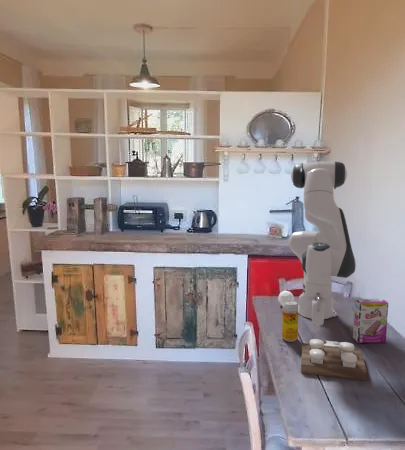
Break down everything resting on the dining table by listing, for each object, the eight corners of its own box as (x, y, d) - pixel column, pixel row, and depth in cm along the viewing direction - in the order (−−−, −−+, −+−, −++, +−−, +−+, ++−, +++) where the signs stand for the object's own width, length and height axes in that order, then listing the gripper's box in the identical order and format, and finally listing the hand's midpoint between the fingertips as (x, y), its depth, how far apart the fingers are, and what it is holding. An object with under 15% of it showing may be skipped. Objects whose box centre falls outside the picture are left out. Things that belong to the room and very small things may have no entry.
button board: (302, 350, 138) (302, 343, 137) (360, 357, 132) (360, 349, 132) (300, 372, 123) (301, 364, 122) (366, 381, 117) (366, 372, 117)
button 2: (338, 352, 133) (339, 341, 132) (353, 353, 131) (353, 342, 131) (339, 358, 128) (340, 347, 127) (354, 360, 127) (355, 349, 126)
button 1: (309, 348, 135) (309, 338, 135) (323, 350, 134) (323, 339, 134) (309, 354, 131) (309, 344, 130) (323, 356, 129) (324, 345, 129)
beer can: (286, 343, 144) (287, 306, 142) (279, 336, 150) (279, 301, 148) (300, 341, 146) (301, 304, 144) (292, 334, 152) (293, 299, 150)
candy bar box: (358, 344, 142) (359, 303, 140) (352, 338, 147) (354, 298, 145) (386, 343, 143) (389, 302, 141) (380, 337, 148) (382, 297, 146)
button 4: (340, 362, 125) (340, 351, 124) (355, 364, 124) (356, 353, 123) (341, 370, 120) (341, 358, 120) (357, 372, 119) (357, 360, 119)
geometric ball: (290, 311, 184) (297, 302, 179) (275, 306, 184) (282, 297, 179) (289, 300, 190) (297, 290, 185) (275, 295, 190) (282, 285, 185)
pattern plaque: (317, 341, 145) (317, 339, 145) (341, 343, 143) (341, 341, 143) (317, 349, 139) (317, 347, 139) (343, 352, 136) (343, 350, 136)
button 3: (309, 359, 128) (309, 348, 127) (324, 360, 126) (324, 349, 126) (309, 366, 123) (309, 354, 123) (324, 368, 122) (324, 356, 121)
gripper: (328, 299, 118) (327, 341, 120) (326, 283, 138) (325, 319, 139) (308, 297, 120) (307, 338, 122) (309, 281, 140) (308, 317, 141)
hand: (317, 328), depth 131 cm, fingers closed
